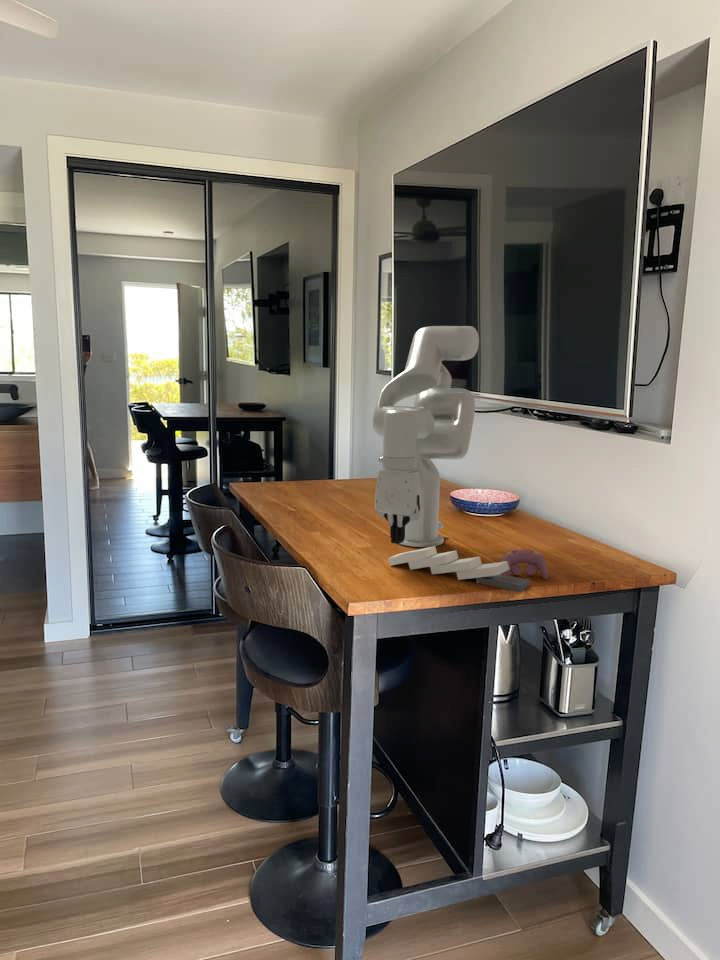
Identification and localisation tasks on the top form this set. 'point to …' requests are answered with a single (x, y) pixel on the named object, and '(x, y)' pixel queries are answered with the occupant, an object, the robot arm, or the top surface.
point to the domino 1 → (412, 556)
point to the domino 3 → (457, 565)
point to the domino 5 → (505, 582)
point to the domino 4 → (484, 570)
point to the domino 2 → (434, 560)
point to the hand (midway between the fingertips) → (397, 542)
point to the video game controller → (525, 556)
